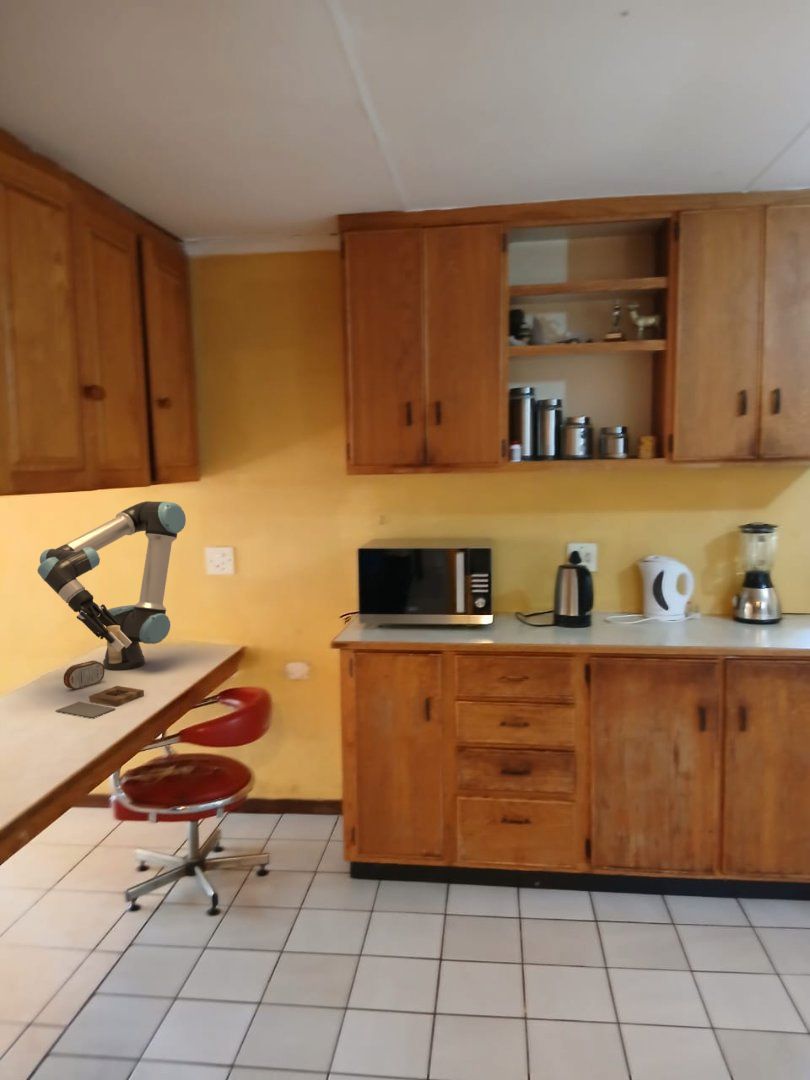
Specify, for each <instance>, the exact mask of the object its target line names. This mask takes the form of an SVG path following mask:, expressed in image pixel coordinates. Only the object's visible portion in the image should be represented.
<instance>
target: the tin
mask: <svg viewBox="0 0 810 1080" xmlns="http://www.w3.org/2000/svg"><path fill="white" fill-rule="evenodd" d="M105 671H106V670H105V668H104V666H103V663H102V662H100V661H97V660H88V661H86V662H81V663H77V664H73V665H71V666H70V667H68V668H67V669H66V670H65V672H64V674H63V684H64V686H65V687H67V688H68V689H72V690H80V689H83V687H84V688H87V687H90V685H91V686H94V685H97V684H98V683H99V684H100V682H101V681H102V680H103V679H104V677H105ZM93 684H94V685H93Z"/></svg>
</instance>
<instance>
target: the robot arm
mask: <svg viewBox="0 0 810 1080" xmlns="http://www.w3.org/2000/svg"><path fill="white" fill-rule="evenodd" d="M186 523H187V522H186V513H185V512H184V510H183V508H182V507H181V506H180V505H179V504H178V503H176V502H173V501H172V502H171V501H150V500H149V501H147V500H146V501H142V502H139V503H137V504H134V505H132V506H129V507H128V508H126V509H124V510H122V511H119V512H118V513H116V514H115V517H114V518H112V519H111V520H109V521H106V522H105V523H103V524H101V525H99V526H97V527H95V528H93V529H92V530H90V531H87V532H86V533H84V534H82V535H80V536H78V537H76V538H75V539H73V540H70V541H68V542H67V543H65V544H63V545H61V546H59V547H56V548H49V549H45V550H44V551H43V552H42V553H40V556H39V563H40V564H39V565H38V568H37V573H38V575H39V577H41V579H42V580H43V582H45V583H46V584H47V585H48V586H49V587H50V588H51V589H52V590H53V591H54V592H55V593H56V594H57V595H58V596H59V598H61V599H62V600H63V601H64V602H65V603H66V604H67V606H68V607H69V608H70V609H71V610H72V611H73V612H74V613H79V614H77V616H76V619H78V620H79V621H80V622H82V623H83V624H84V625H85V626H86V627H87V628H88V629H89V631H91V632H92V633H93V634H94V635H95V636H96V637H97V638H100V640H103V639H105V640H106V643H107V644H106V645H107V647H106V651H105V655H104V659H103V661H102V662H103V663H102V664H103V666H104V669H106V670H109V671H124V670H123V669H125V670H131V669H130V668H132V669H136V668H139V667H138V666H140V667H141V665H142V664H144V663H146V658H145V655H144V653H143V650H142V648H141V645H140V643H143V644H145V645H146V644H147V645H151V644H152V645H155V644H158V643H161V642H162V641H163V640H164V639H166V637H167V636H168V635H169V632H170V630H171V620H170V619H169V616H168V615H166V612H167V609H166V606H164V598H165V591H166V583H167V580H168V579H167V577H168V570H169V563H170V558H171V550H172V544H173V542H174V541H176V540H177V539H178V533H180V532H181V531H183V530H184V529H185V526H186ZM140 532H145V533H144V535H145V537H146V538H147V539H148V541H147V546H146V555H145V561H144V567H143V574H142V580H141V588H140V593H139V601H138V602H137V603H135V604H132V605H131V604H129V605H122V606H117V607H112V608H109V609H107V607H106V605H105V604H101V605H98V604H97V603H96V602H94V595H92V593H90V591H89V590H88V589H86V587H85V586H84V585H83V584H82V583H81V582H80V581H78V579H77V578H79V577H80V576H82V575H84V574H86V573H88V572H90V571H92V570H94V569H95V568H96V567H98V566H99V565H100V563H101V558H100V554H99V553H98V552H97V551H100V550H101V549H103V548H105V547H107V546H109V545H110V544H112V543H114V542H116V541H117V540H119V539H121V538H123V537H124V536H132V535H134V534H136V533H140ZM112 625H119V626H120V636H121V642H120V641H119V639H118V638H117V637H116V636H115V635H114V634H113V633H112V632H108V630H107V627H108V626H112ZM108 642H109V643H110V644H111V645H112V646H113V647H114V648H115V649H116V650H117V651H118V652H119V651H120V650H121V656H122V662H120V663H115V664H111V663H109V656H108ZM142 666H143V665H142ZM135 667H136V668H135Z"/></svg>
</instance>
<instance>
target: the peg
mask: <svg viewBox="0 0 810 1080" xmlns="http://www.w3.org/2000/svg"><path fill="white" fill-rule="evenodd" d="M107 630H108V632H112V633H113V634H114V635H115V636H116V637H117V638H118V639H119V641H120V642H121V636H120V626H119V625H112V626H108V627H107ZM108 656H109V663H111V664H115V663H120V662H122V656H121V650H120V651H119V652H118V651H117V650H116V649H115V648H114V647H113V646H112V645H111V644H110V643H109V642H108Z"/></svg>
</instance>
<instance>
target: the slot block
mask: <svg viewBox="0 0 810 1080" xmlns="http://www.w3.org/2000/svg"><path fill="white" fill-rule="evenodd" d="M139 697H140V698H141V697H145V690H144V689H140V688H133V687H127V686H120V685H115V686H112V687H110V688H107V689H105V690H102V691H98V692H96V693H93V694H91V695H89V696H88V699H89V702H90V703H94V702H95V703H96V704H99V703H100V704H101V705H105V706H106V705H107V706H110V707H111V706H113V707H115V708H116V707H120V706H122V705H124V704H126V703H129V702H132V701H134V699H135V700H136V699H140V698H139ZM89 702H88V703H89Z"/></svg>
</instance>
